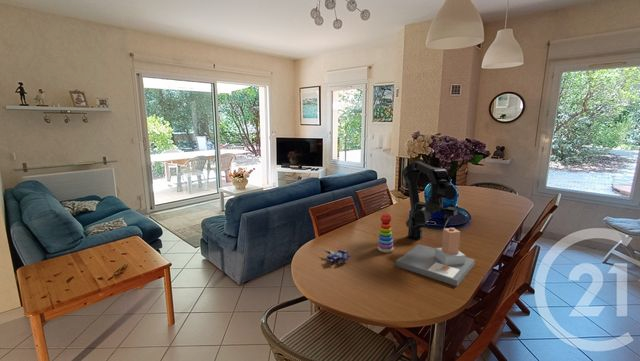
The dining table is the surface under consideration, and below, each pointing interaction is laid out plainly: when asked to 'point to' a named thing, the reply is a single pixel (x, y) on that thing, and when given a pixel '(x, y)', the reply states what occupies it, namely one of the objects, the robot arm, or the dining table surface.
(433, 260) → the board
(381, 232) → the stacking toy
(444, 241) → the pillar block
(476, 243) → the dining table surface
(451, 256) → the base block
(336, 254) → the toy airplane
